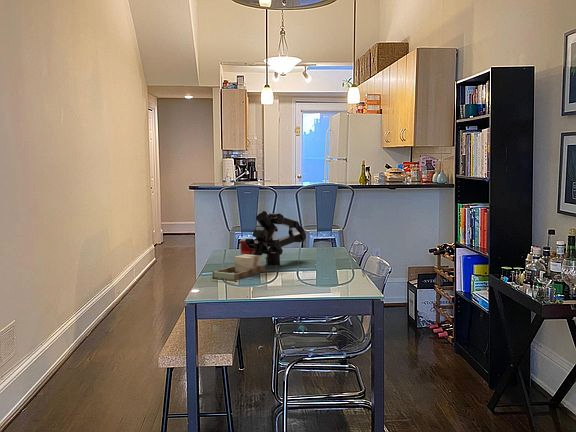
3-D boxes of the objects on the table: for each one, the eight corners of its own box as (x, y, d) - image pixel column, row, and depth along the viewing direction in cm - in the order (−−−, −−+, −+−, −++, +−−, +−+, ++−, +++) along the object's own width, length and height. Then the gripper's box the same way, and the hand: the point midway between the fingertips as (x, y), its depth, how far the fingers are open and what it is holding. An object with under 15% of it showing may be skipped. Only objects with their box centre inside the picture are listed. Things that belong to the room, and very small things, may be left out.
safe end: (225, 275, 275) (225, 268, 275) (248, 278, 268) (248, 270, 267) (212, 278, 267) (212, 271, 267) (235, 281, 260) (235, 274, 259)
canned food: (253, 259, 316) (252, 240, 315) (239, 259, 318) (238, 240, 317) (256, 257, 324) (256, 238, 323) (243, 257, 325) (242, 238, 324)
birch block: (245, 268, 285) (244, 254, 284) (261, 270, 279) (260, 255, 279) (235, 271, 278) (234, 256, 277) (251, 273, 273) (251, 258, 272)
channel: (242, 270, 286) (242, 263, 286) (265, 272, 279) (265, 265, 278) (212, 278, 267) (212, 271, 267) (235, 281, 260) (235, 274, 259)
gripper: (245, 222, 291) (233, 247, 283) (275, 224, 281) (263, 249, 273) (255, 235, 298) (243, 260, 290) (285, 237, 288) (273, 263, 280)
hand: (255, 258), depth 283 cm, fingers closed
